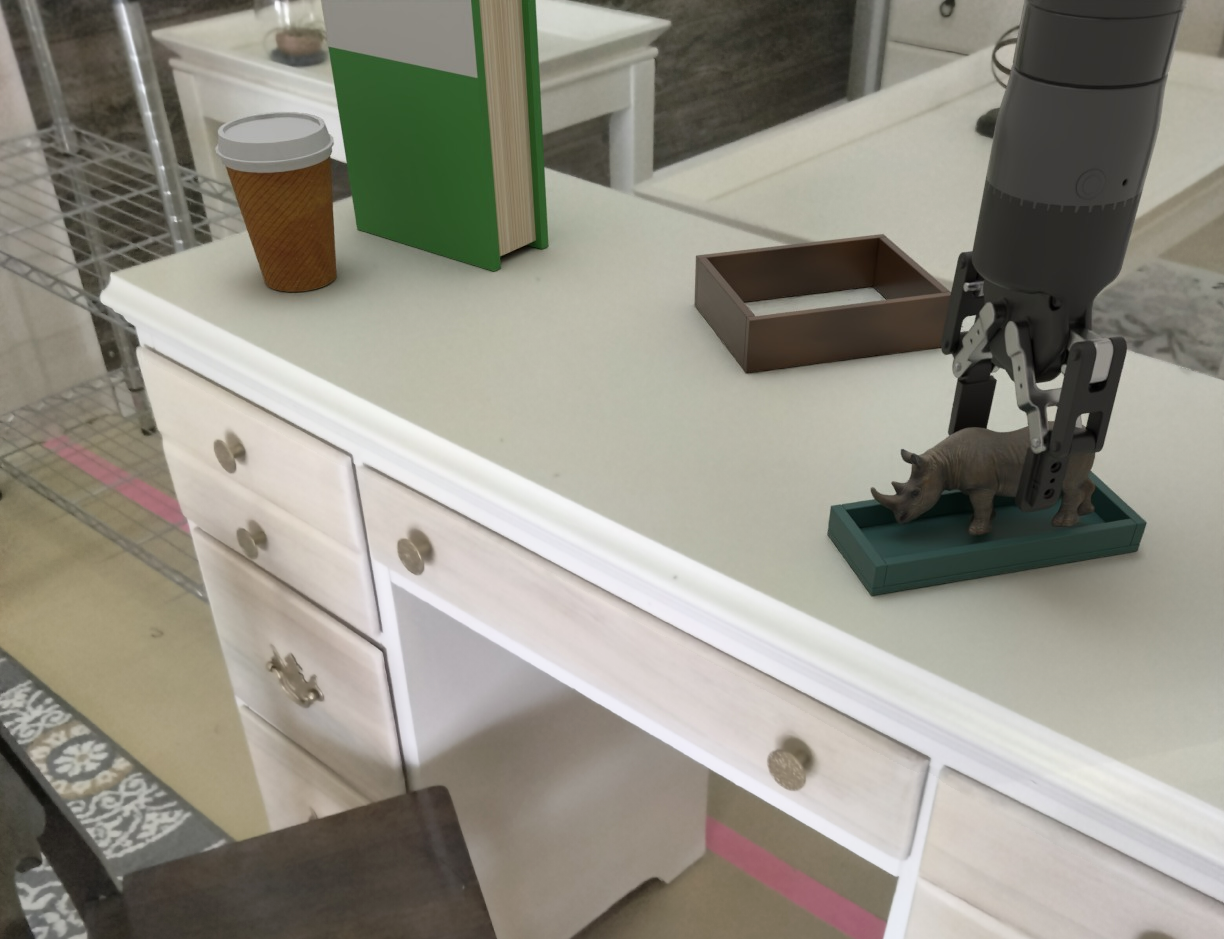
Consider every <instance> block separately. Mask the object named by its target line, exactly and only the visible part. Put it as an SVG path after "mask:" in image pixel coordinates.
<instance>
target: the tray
mask: <svg viewBox="0 0 1224 939" xmlns="http://www.w3.org/2000/svg"><path fill="white" fill-rule="evenodd" d="M1088 477H1089V478H1090V479H1091V480H1092V481H1093V482H1094V484H1095V490H1094V492H1093V493H1092V495H1091V504H1092V505H1093V506H1094V509H1095V510H1094V512H1092V513H1091V514H1087V515H1083V516H1079V522H1078V523H1076V524H1074V525H1072V526H1069V527H1065V526H1061V527H1055V526H1053V525H1052V524H1051V522H1052V519H1053V517H1054V515H1055V514H1056V513H1057V512H1058V510H1059V508H1060V505H1061V501H1062V495H1063V490H1062V489H1061V493H1060V497H1059V499H1058V500H1057V502H1056V504H1054V506H1052V507H1051V508H1049V509H1046V510H1039V511H1033V512H1027V513H1024V512H1022V511H1021V510H1020V509H1019V507H1018V506H1017V505H1016V504H1015V498H1014V497H1005V496H998V495H994V497H993V498H994V502H993V509H994V510H995V511H996V517H995V518H994V519H993V520H992V521H990V523H991V525H992V530H991V531H990V532H989V533H986V534H983V535H970V534H969V533H968V530H967V529H968V527H969V525H970V524H971V522H970V517H971V516H972V515H973V514H974V509H973V505H972V503H971V500H970V496H969V495H965V494H963V493H962V492H961V491H960V490H952V491H947V490H944V491H943V492H942V494H941V496H940V498H939V500H938V501H937V503H936V504H935V505H934V506H933V507H932V508H931V509H929V510H928V511H926V512H925V513H923V514H921V515H920V516H918V517H917V518H915V519H913V520H911V521H910V522H908V523H905V524H903V525H900V524H899V523H898V522H897V521H896V518H895V516H894V512H893V511H891V510H890V509H889V508H887V507H885V506H883V505H881V504H880V503H878V502H877V501H876V500H875V499H874V498H873V499H866V500H859V501H854V502H847V503H842V504H833V505H830V508H829V518H828V525H827V536H828V537H829V538H830V540H831V541H832V542H833V545H835V546H836V548H837V549H838V551H839V552H840V554H841V555H842V557H843V558H844V559H845V561H846V562H847V564H848V566H850V568H851V569H852V570H853V572H854V573H855V575H856V576H857V577H858V579H859V580H860V582H861V583H862V585H863V586H864V587H865V589H866V590H867V591H868V593H869V595H871V596H877V595H883V594H888V593H895V592H903V591H907V590H913V589H919V588H925V587H931V586H937V585H943V584H949V583H954V582H955V583H956V582H962V581H967V580H972V579H973V580H974V579H979V578H985V577H990V576H997V575H1003V574H1008V573H1009V574H1010V573H1015V572H1020V571H1025V570H1026V571H1027V570H1032V569H1037V568H1043V567H1044V568H1045V567H1051V566H1056V565H1063V564H1068V563H1074V562H1080V561H1085V560H1091V559H1097V558H1103V557H1110V556H1116V555H1122V554H1128V553H1134V552H1138V551H1139V549H1140V544H1141V542H1142V540H1143V536H1144V533H1145V530H1146V527H1147V524H1148V523H1147V521H1146V520H1145V519H1144V518H1143V517H1142V516H1141V515H1139V513H1138V512H1136V511H1135V510H1134V509H1133V508H1132V507H1131V506H1130V505H1129V504H1128V503H1126V501H1125V500H1123V499H1122V498H1121V497H1120V496H1119V495H1118V494H1117V493H1116V492H1114V490H1112V488H1110V487H1109V485H1107V484H1106V483H1105V482H1104V481H1103V480H1101V479H1100V478H1099V477H1098V476H1097V475H1096V474H1095V473H1094V472H1093V471H1092V470H1091V471H1090V473H1089V476H1088Z"/></svg>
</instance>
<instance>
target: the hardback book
mask: <svg viewBox="0 0 1224 939" xmlns="http://www.w3.org/2000/svg"><path fill="white" fill-rule="evenodd" d="M320 3H321V10H322V16H323V22H324V29H325V35H326V41H327V48H328V54H329V61H330V66H331V67H330V68H331V74H332V79H333V85H334V86H333V87H334V91H335V98H336V106H337V110H338V118H339V123H340V127H341V128H340V130H341V137H342V142H343V149H344V154H345V160H346V168H347V175H348V179H349V186H350V192H351V199H352V206H353V211H354V218H355V224H356V230H358V231H362V232H364V233H367V234H371V235H373V236H377V237H380V238H384V239H387V240H391V241H393V242H397V243H400V244H404V245H406V246H410V247H414V248H416V249H419V250H422V251H426V252H428V253H429V252H430V253H432V254H435V255H439V256H441V257H445V258H449V259H451V260H455V261H458V262H462V263H465V264H468V265H471V266H475V267H478V268H481V269H483V270H488V271H490V272H496V271H498V270H501V268H502V265H501V257H502V256H505V255H506V254H509V253H511V252H513V251H515V250H517V249H520V248H522V247H524V246H529V247H533V248H536V249H539V250H544V249H547V248H548V247H549V229H548V209H547V190H546V188H547V187H546V170H545V169H546V168H545V152H544V135H543V134H544V132H543V115H542V113H543V112H542V97H541V95H542V94H541V76H540V75H541V74H540V58H539V57H540V55H539V38H538V20H537V19H538V18H537V16H538V15H537V0H320Z"/></svg>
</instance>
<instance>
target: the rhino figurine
mask: <svg viewBox="0 0 1224 939" xmlns="http://www.w3.org/2000/svg"><path fill="white" fill-rule="evenodd" d="M1054 421H1055V420H1048V427H1049V428H1053V426H1054ZM1082 428H1083V429H1086V425H1084V424H1082ZM1028 447H1031V446H1030V438H1029V429H1028V425H1027V426H1024V427H1021V428H1019V429H1015V430H1011V431H995V430H992V429H989V428H987V429H986V428H978V427H971V428H965V429H962V430H960V431H958V432H956V433H954V434H952V435H950V436H949V435H948V436H946V438H944V439H943V440H941V441H940V442H938V443H937V444H935V445H933V447H930V448H929V449H927V450H926V451H924V452H923V453H920V454H917V453H915V452H912V451H909V450H906V449H905V448H901V449H900V456H901V459H902V461H904V462H905V463H907V464H909V465H911V468H910V470H911V471H910V476H909V479H908V480H906V482H899V481H893V480H892V481H891V482H890V484H891V486H892V487H893V489H894V491H895V494H884V493H881V492H879V491H878V490H877V489H876V488H875V487H873V486H871V487H870V493H871V496H872V498H873V499H875V500H876V501H877V502H878V503H880V504H881V505H883V506H885V507H887V508H889V509H890V510H891V511H893V512H894V516H895V518H896V521H897V522H898V523H899V524H900V525H903V524H905V523H908V522H910V521H911V520H913V519H915V518H917V517H918V516H920V515H921V514H923V513H925V512H926V511H928V510H929V509H931V508H932V507H933V506H934V505H935V504H936V503H937V501H938V500H939V498H940V496H941V494H942V492H943V491H944V490H947V491H952V490H960V491H961V492H962V493H963V494H965V495H969V496H970V500H971V503H972V505H973V509H974V514H973V515H972V516H971V517H970V522H971V524H970V525H969V527H968V529H967V530H968V533H969V534H970V535H983V534H986V533H989V532H990V531H991V530H992V525H991V523H990V521H992V520H993V519H994V518H995V517H996V511H995V510H994V509H993V502H994V498H993V497H994V495H998V496H1005V497H1014V498H1016V494H1017V490H1018V486H1019V482H1020V477H1021V473H1022V469H1023V465H1024V461H1025V457H1026V453H1027V448H1028ZM1095 459H1096V453H1089V454H1083V455H1076V456H1071V457H1070V460H1069V463H1068V467H1067V471H1066V474H1065V478H1064V481H1063V485H1062V488H1061V489H1062V490H1063V495H1062V501H1061V505H1060V508H1059V510H1058V512H1057V513H1056V514H1055V515H1054V517H1053V519H1052V522H1051V524H1052V525H1053V526H1055V527H1061V526H1065V527H1069V526H1072V525H1074V524H1076V523H1078V522H1079V516H1083V515H1087V514H1091V513H1092V512H1094V510H1095V509H1094V506H1093V505H1092V504H1091V495H1092V493H1093V492H1094V490H1095V484H1094V482H1093V481H1092V480H1091V479H1090V478H1089V477H1088V476H1089V473H1090V471H1092V468H1093V466H1094V464H1095V463H1094V462H1095Z"/></svg>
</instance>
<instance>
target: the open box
mask: <svg viewBox="0 0 1224 939" xmlns="http://www.w3.org/2000/svg"><path fill="white" fill-rule="evenodd" d="M694 270H695V272H694V274H695V275H694V300H693V301H694V304H693V305H694V306H695V308H696V309H697V310H698V312H699V313H700V314H701V315H702V317H703V318H704V319H705V321H706V322H707V323H708V325H709V326H710V328H711V329H712V330H713V331H714V332H715V335H717V337H718V338H719V339H720V340H721V342H722V343H723V344H724V346H725V347H726V348H727V350H728V351H729V352H730V353H731V355H732V356H733V357H734V359H735V361H736V362H737V363H738V364H739V365H740V367H741V369H743V371H744V372H745V373H747V374H748V373H756V372H763V371H770V370H778V369H785V368H786V369H787V368H795V367H801V366H810V365H815V364H823V363H832V362H839V361H847V360H854V359H863V358H868V356H870V357H876V356H875V355H877V356H884V355H883V354H885V355H890V354H889V353H893V354H898V353H897V352H899V353H907V352H915V351H922V350H929V349H936V348H937V349H938V348H941V339H942V334H943V329H944V324H945V319H946V315H947V310H948V305H949V300H950V295H951V291H950V290H949V289H948V288H947V287H946V286H944V285H943V284H942V283H941V282H940V281H939V280H938V279H937V278H935V277H934V276H933V275H932V274H930V272H928V271H927V270H926V269H925V268H924V267H922V266H921V265H920V264H919V263H918V262H916V261H915V260H914V259H913V257H912V256H911V257H910V255H909V254H907V253H906V252H905V251H904V250H903V249H902V248H900V247H899V246H898V245H897V244H895V243H894V241H893V240H891V239H890V238H889V237H887V235H885V234H884V233H879V234H871V235H862V236H853V237H846V238H845V237H843V238H835V239H827V240H818V241H810V242H801V243H792V244H784V245H775V246H767V247H758V248H750V249H739V250H731V251H723V252H714V253H705V254H697V255H695V269H694ZM870 287H873V288H874V289H875V290H876V291H877V292H878V293H880V294H881V296H883V297H884V298H885V299H882V300H875V301H874V300H873V301H866V302H858V303H849V304H842V305H835V306H834V305H833V306H825V307H818V308H809V309H801V310H794V311H793V310H792V311H786V312H785V311H784V312H777V313H769V314H762V315H761V314H760V315H755V314H754V313H753V311H752V310H751V309H750V308H749V306H748V305H747V304H746V303H747V302H755V301H764V300H772V299H779V298H787V297H788V298H789V297H796V296H803V295H813V294H821V293H822V294H823V293H831V292H837V291H844V290H845V291H847V290H852V289H853V290H854V289H861V288H870ZM881 354H882V355H881Z"/></svg>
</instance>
